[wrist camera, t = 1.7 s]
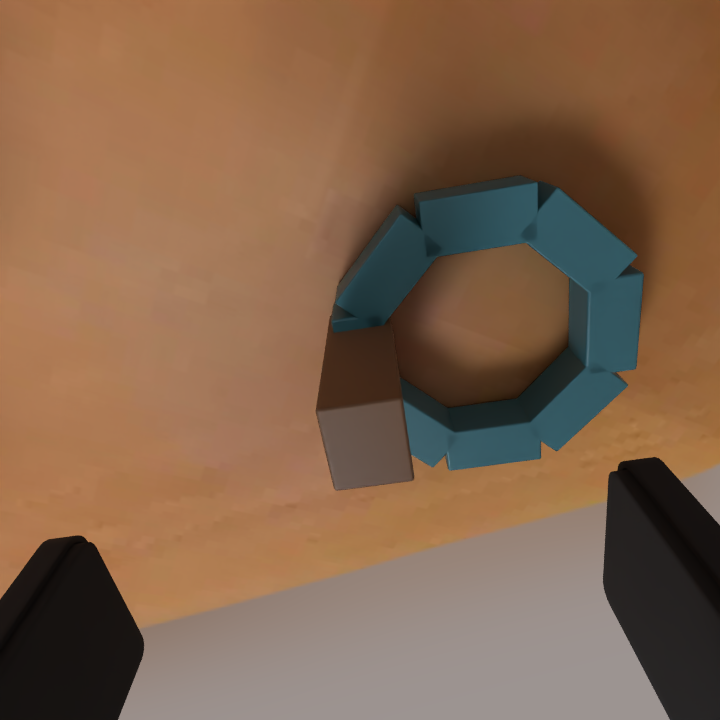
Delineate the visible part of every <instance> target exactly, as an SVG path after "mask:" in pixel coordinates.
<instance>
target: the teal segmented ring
mask: <svg viewBox="0 0 720 720" xmlns="http://www.w3.org/2000/svg"><path fill="white" fill-rule="evenodd" d="M414 204H415V212H416V218H415V217H414V216H412V215H411V214H410V213H408V212H407V211H406V210H404V209H403V208H402V207H400V206H399V205H396V206H395V207H394V209H393V210H392V211H391V213H390V214H389V216H388V217H387V218H386V220H385V221H384V223H383V224H382V225H381V227H380V228H379V229H378V231H377V232H376V234H375V235H374V236H373V238H372V239H371V240H370V242H369V243H368V245H367V246H366V247H365V249H364V250H363V251H362V253H361V254H360V256H359V257H358V258H357V260H356V261H355V263H354V264H353V265H352V267H351V268H350V269H349V271H348V272H347V274H346V275H345V276H344V278H343V279H342V280H341V282H340V283H339V285H338V286H337V293H336V301H335V304H334V306H333V313H332V316H330V320H329V327H328V333H327V340H326V347H325V353H324V360H323V366H322V373H321V380H320V386H319V393H318V400H317V406H316V414H317V419H318V423H319V427H320V431H321V435H322V440H323V444H324V448H325V452H326V457H327V461H328V465H329V469H330V473H331V478H332V482H333V486H334V489H335V490H337V491H338V490H346V489H353V488H361V487H369V486H377V485H384V484H392V483H400V482H408V481H412V480H413V479H414V472H413V465H412V458H411V455H413V456H415V457H416V458H418V459H419V460H421V461H423V462H424V463H426V464H428V465H429V466H431V467H434V466H435V465H436V464H437V463H438V462H439V461H440V460H441V459H442V458H443V457H444V456H445V458H446V462H447V466H448V469H449V470H458V469H466V468H474V467H481V466H489V465H497V464H504V463H512V462H520V461H527V460H535V459H540V458H541V441H542V442H543V443H545V444H546V445H548V446H549V447H551V448H552V449H554V450H555V451H558V450H559V449H560V448H561V447H562V446H564V445H565V444H566V443H567V442H568V441H569V440H570V439H571V438H572V437H573V436H574V435H575V434H577V433H578V432H579V431H580V430H581V429H582V428H583V427H584V426H585V425H586V424H587V423H588V422H589V421H591V420H592V419H593V418H594V417H595V416H596V415H597V414H598V413H599V412H600V411H601V410H602V409H604V408H605V407H606V406H607V405H608V404H609V403H610V402H611V401H612V400H613V399H614V398H615V397H616V396H618V395H619V394H620V393H621V392H622V391H623V390H624V389H625V388H626V387H627V386H628V384H627V383H626V382H625V381H624V380H623V379H622V378H621V377H620V376H619V375H618V374H617V373H616V372H619V371H626V370H634V369H636V366H637V353H638V341H639V328H640V316H641V303H642V291H643V278H644V274H643V272H641V271H639V270H638V269H636V268H634V267H632V266H631V265H629V264H630V263H631V262H632V261H633V260H634V259H635V258H636V257H637V254H636V253H635V252H634V251H633V250H631V249H630V248H629V247H628V246H627V245H626V244H624V243H623V242H622V241H621V240H620V239H619V238H617V237H616V236H615V235H614V234H613V233H612V232H610V231H609V230H608V229H607V228H606V227H605V226H603V225H602V224H601V223H600V222H599V221H597V220H596V219H595V218H594V217H593V216H592V215H590V214H589V213H588V212H587V211H586V210H585V209H583V208H582V207H581V206H580V205H579V204H578V203H576V202H575V201H574V200H573V199H572V198H571V197H569V196H568V195H567V194H566V193H565V192H564V191H562V190H561V189H560V188H558V187H556V186H553V185H551V184H548V183H546V182H543V181H539V182H538V183H537V182H536V181H533V180H531V179H528V178H526V177H523V176H521V175H519V176H513V177H508V178H502V179H496V180H490V181H484V182H478V183H472V184H467V185H461V186H455V187H449V188H443V189H437V190H431V191H426V192H420V193H415V194H414ZM521 243H527V244H528V245H529V246H530V247H532V248H533V249H534V250H535V251H537V252H538V253H539V254H540V255H542V256H543V257H544V258H545V259H547V260H548V261H549V262H550V263H552V264H553V265H554V266H556V267H557V268H558V269H559V270H561V271H562V272H563V273H564V274H566V275H567V276H568V277H569V343H568V347H567V348H566V349H565V350H564V351H563V352H562V353H561V354H560V355H559V356H558V357H557V358H556V359H555V360H554V361H553V363H552V364H551V365H550V366H549V367H548V368H547V369H546V370H545V371H544V372H543V373H542V374H541V375H540V376H539V377H538V378H537V379H536V380H535V381H534V382H533V383H532V384H531V385H530V386H529V387H528V388H527V389H526V390H525V391H524V392H523V393H522V394H521V395H520V396H519V397H518V398H517V399H510V400H503V401H496V402H488V403H481V404H474V405H467V406H460V407H452V408H447V407H445V406H444V405H442V404H441V403H439V402H438V401H436V400H434V399H433V398H431V397H430V396H428V395H427V394H425V393H424V392H422V391H421V390H419V389H418V388H416V387H415V386H413V385H411V384H410V383H408V382H407V381H405V380H404V379H402V378H401V377H400V376H399V369H398V362H397V355H396V349H395V342H394V335H393V328H392V322H391V315H392V313H393V312H394V311H395V310H396V308H397V307H398V306H399V305H400V303H401V302H402V301H403V300H404V298H405V297H406V296H407V295H408V293H409V292H410V291H411V289H412V288H413V287H414V286H415V284H416V283H417V282H418V281H419V279H420V278H421V277H422V276H423V274H424V273H425V272H426V271H427V269H428V268H429V267H430V266H431V264H432V263H433V262H434V260H435V259H436V258H437V257H440V256H446V255H453V254H459V253H465V252H471V251H477V250H484V249H490V248H496V247H502V246H508V245H515V244H521Z"/></svg>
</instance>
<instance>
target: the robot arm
mask: <svg viewBox="0 0 720 720" xmlns="http://www.w3.org/2000/svg"><path fill="white" fill-rule="evenodd" d="M605 536H606V537H605V554H604V573H603V584H604V590H605V593H606V597H607V600H608V601H609V604H610V606H611V608H612V610H613V612H614V614H615V615H616V617H617V619H618V621H619V623H620V625H621V627H622V629H623V631H624V633H625V634H626V636H627V638H628V640H629V642H630V644H631V646H632V648H633V650H634V652H635V654H636V655H637V657H638V659H639V661H640V663H641V665H642V667H643V669H644V671H645V673H646V675H647V676H648V679H649V680H650V682H651V684H652V686H653V688H654V690H655V692H656V694H657V696H658V698H659V699H660V701H661V703H662V705H663V707H664V709H665V711H666V713H667V715H668V717H669V719H670V720H720V525H719V524H718V523H717V522H716V521H715V520H714V519H713V517H712V516H711V515H710V514H709V513H708V512H707V511H706V509H704V507H703V506H702V505H701V504H700V503H699V502H698V501H697V499H696V498H695V497H694V496H693V495H692V494H691V493H690V492H689V490H688V489H687V488H686V487H685V486H684V485H683V484H682V483H681V482H680V480H679V479H678V478H677V477H676V476H675V475H674V474H673V473H672V471H671V470H670V469H669V468H668V467H667V466H666V465H665V464H664V462H662V461H661V460H660V459H659V458H656V457H652V458H644V459H637V460H630V461H623V462H620V464H619V466H618V471H613V472H610V474H609V480H608V499H607V518H606V535H605ZM143 651H144V641H143V637H142V635H141V633H140V631H139V629H138V627H137V625H136V623H135V621H134V619H133V617H132V615H131V613H130V611H129V610H128V608H127V606H126V604H125V602H124V600H123V598H122V596H121V594H120V592H119V590H118V588H117V586H116V584H115V583H114V581H113V579H112V577H111V575H110V573H109V571H108V569H107V567H106V565H105V563H104V561H103V559H102V557H101V556H100V554H99V552H98V550H97V548H96V546H95V545H94V544H93V543H91V542H88V541H87V540H86V539H85V538H84V537H82V536H70V537H63V538H55V539H49V540H47V541H45V542H43V543H42V544H41V545H40V546H39V548H38V549H37V551H36V552H35V553H34V555H33V556H32V557H31V559H30V560H29V561H28V563H27V564H26V565H25V567H24V568H23V570H22V571H21V572H20V574H19V575H18V576H17V578H16V579H15V580H14V582H13V583H12V584H11V586H10V587H9V588H8V590H7V591H6V593H5V594H4V595H3V597H2V598H1V599H0V720H118V718H119V715H120V713H121V710H122V708H123V705H124V703H125V700H126V698H127V695H128V693H129V690H130V687H131V685H132V683H133V680H134V678H135V675H136V672H137V670H138V667H139V665H140V662H141V660H142V656H143Z"/></svg>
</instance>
